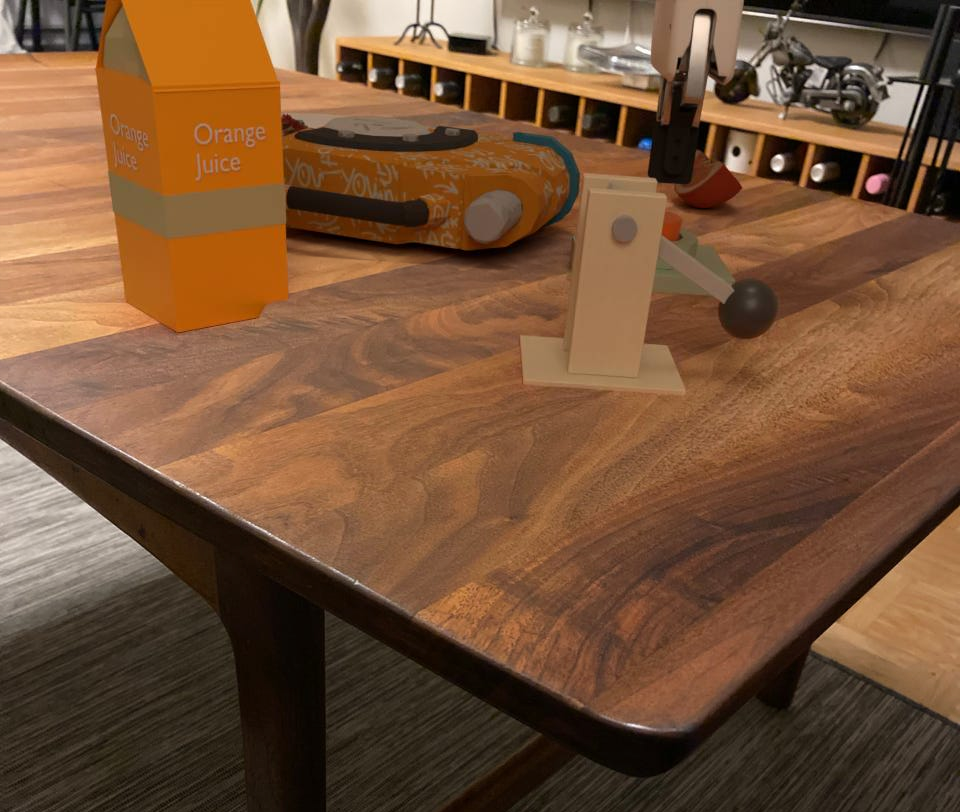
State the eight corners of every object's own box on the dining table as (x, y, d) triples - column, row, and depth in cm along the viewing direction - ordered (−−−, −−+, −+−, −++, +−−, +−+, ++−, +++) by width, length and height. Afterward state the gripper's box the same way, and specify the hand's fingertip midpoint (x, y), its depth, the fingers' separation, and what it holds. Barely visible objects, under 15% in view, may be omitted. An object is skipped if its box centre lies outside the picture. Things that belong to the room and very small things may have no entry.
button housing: (707, 271, 89) (716, 223, 87) (729, 308, 81) (740, 256, 79) (569, 261, 89) (575, 212, 86) (577, 297, 80) (584, 244, 78)
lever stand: (664, 362, 70) (697, 176, 63) (683, 409, 63) (721, 207, 57) (518, 352, 70) (535, 164, 63) (521, 398, 63) (541, 193, 56)
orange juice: (290, 311, 73) (278, -22, 62) (177, 333, 68) (140, -25, 57) (233, 282, 78) (211, -33, 66) (123, 300, 73) (78, -38, 61)
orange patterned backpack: (524, 181, 75) (160, 129, 81) (513, 294, 80) (171, 237, 86) (590, 134, 93) (287, 94, 99) (578, 229, 98) (290, 185, 104)
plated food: (422, 196, 104) (423, 160, 102) (140, 165, 107) (136, 129, 105) (473, 145, 128) (475, 115, 126) (243, 121, 131) (241, 91, 129)
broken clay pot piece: (662, 195, 112) (670, 145, 109) (720, 198, 113) (730, 148, 110) (685, 215, 106) (694, 162, 103) (747, 217, 107) (758, 165, 104)
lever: (744, 338, 67) (782, 291, 65) (756, 358, 64) (796, 310, 62) (579, 222, 63) (615, 169, 61) (584, 238, 60) (622, 182, 58)
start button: (674, 234, 84) (678, 211, 83) (681, 247, 81) (685, 224, 80) (625, 230, 84) (629, 207, 83) (631, 243, 81) (634, 220, 80)
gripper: (792, -110, 63) (735, 206, 74) (742, -106, 76) (700, 165, 86) (671, -117, 63) (631, 200, 74) (641, -112, 75) (611, 160, 86)
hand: (668, 180), depth 80 cm, fingers closed
